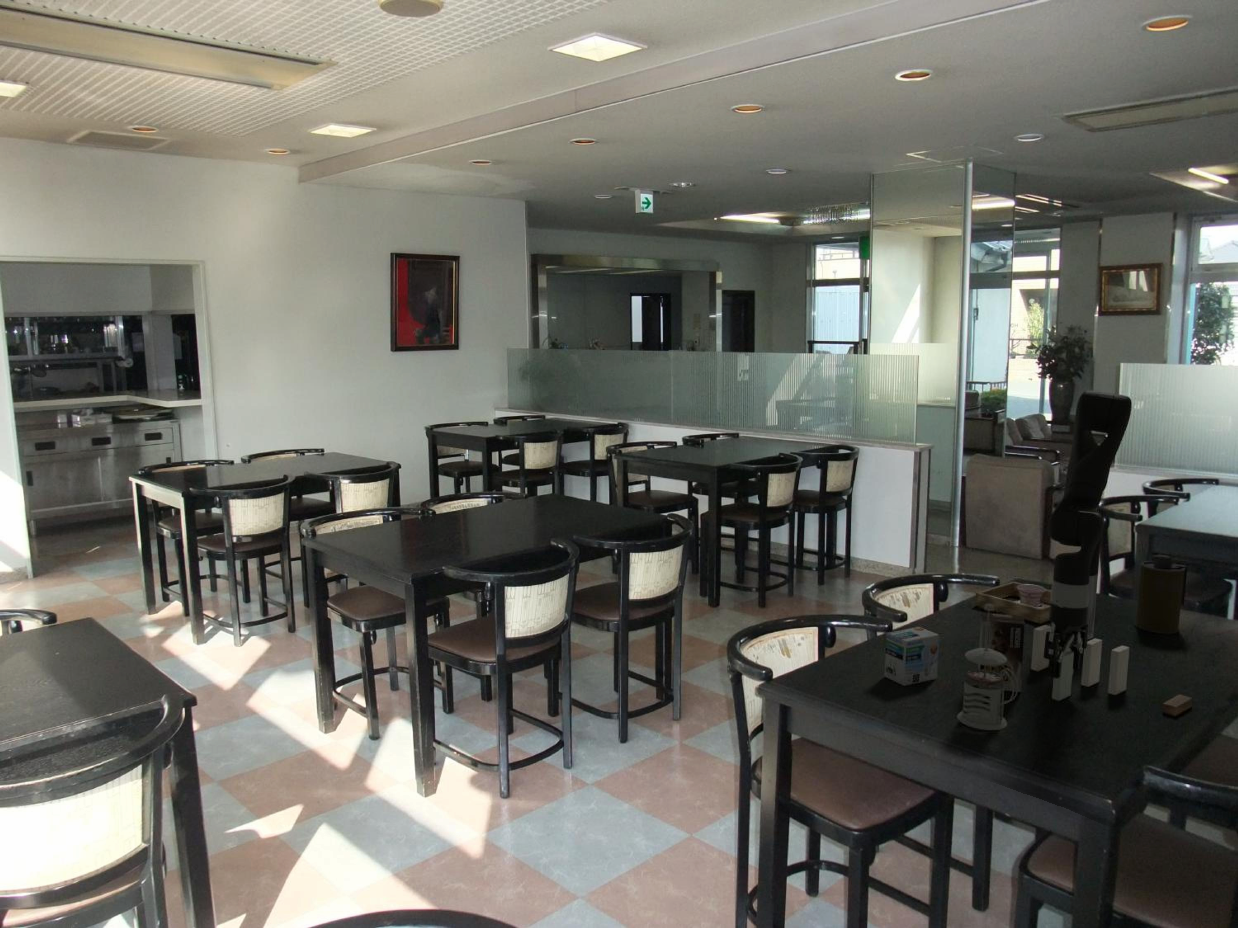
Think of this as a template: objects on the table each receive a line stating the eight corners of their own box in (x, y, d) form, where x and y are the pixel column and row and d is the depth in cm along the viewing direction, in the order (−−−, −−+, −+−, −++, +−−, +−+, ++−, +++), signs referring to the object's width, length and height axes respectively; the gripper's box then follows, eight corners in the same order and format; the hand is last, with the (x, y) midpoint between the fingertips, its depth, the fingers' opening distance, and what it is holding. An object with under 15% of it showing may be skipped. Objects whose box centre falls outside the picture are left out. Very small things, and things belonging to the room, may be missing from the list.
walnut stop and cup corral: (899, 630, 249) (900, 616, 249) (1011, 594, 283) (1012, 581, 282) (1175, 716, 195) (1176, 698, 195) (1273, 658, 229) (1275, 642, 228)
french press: (971, 706, 200) (978, 594, 196) (1024, 723, 192) (1032, 606, 188) (947, 718, 194) (954, 603, 190) (1001, 737, 185) (1009, 616, 181)
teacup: (1010, 600, 277) (1012, 580, 276) (1055, 606, 271) (1056, 586, 270) (1005, 610, 267) (1006, 590, 266) (1050, 617, 261) (1052, 596, 260)
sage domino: (1051, 698, 205) (1055, 654, 203) (1063, 692, 208) (1066, 650, 206) (1059, 700, 203) (1062, 656, 202) (1070, 695, 206) (1073, 652, 205)
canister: (1142, 632, 248) (1148, 559, 245) (1129, 620, 258) (1136, 550, 255) (1187, 635, 246) (1194, 562, 243) (1173, 623, 256) (1179, 552, 253)
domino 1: (1031, 669, 222) (1033, 628, 220) (1041, 664, 225) (1044, 624, 223) (1037, 671, 221) (1040, 630, 219) (1048, 666, 224) (1051, 626, 222)
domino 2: (1081, 684, 212) (1084, 642, 211) (1091, 679, 215) (1095, 638, 214) (1088, 686, 211) (1091, 644, 210) (1098, 681, 214) (1102, 640, 213)
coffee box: (1019, 682, 213) (1023, 615, 211) (1021, 693, 207) (1026, 623, 205) (976, 677, 216) (981, 611, 214) (977, 687, 210) (982, 619, 208)
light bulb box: (904, 686, 211) (906, 641, 209) (883, 676, 217) (885, 632, 215) (938, 678, 216) (940, 634, 214) (916, 669, 222) (919, 625, 220)
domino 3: (1107, 692, 208) (1111, 649, 206) (1118, 687, 211) (1122, 645, 209) (1115, 695, 206) (1118, 651, 205) (1125, 689, 209) (1129, 647, 208)
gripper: (1068, 592, 209) (1063, 661, 212) (1035, 603, 201) (1030, 674, 203) (1102, 599, 203) (1096, 670, 206) (1070, 611, 195) (1064, 685, 197)
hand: (1064, 672), depth 204 cm, fingers open, 8 cm apart
